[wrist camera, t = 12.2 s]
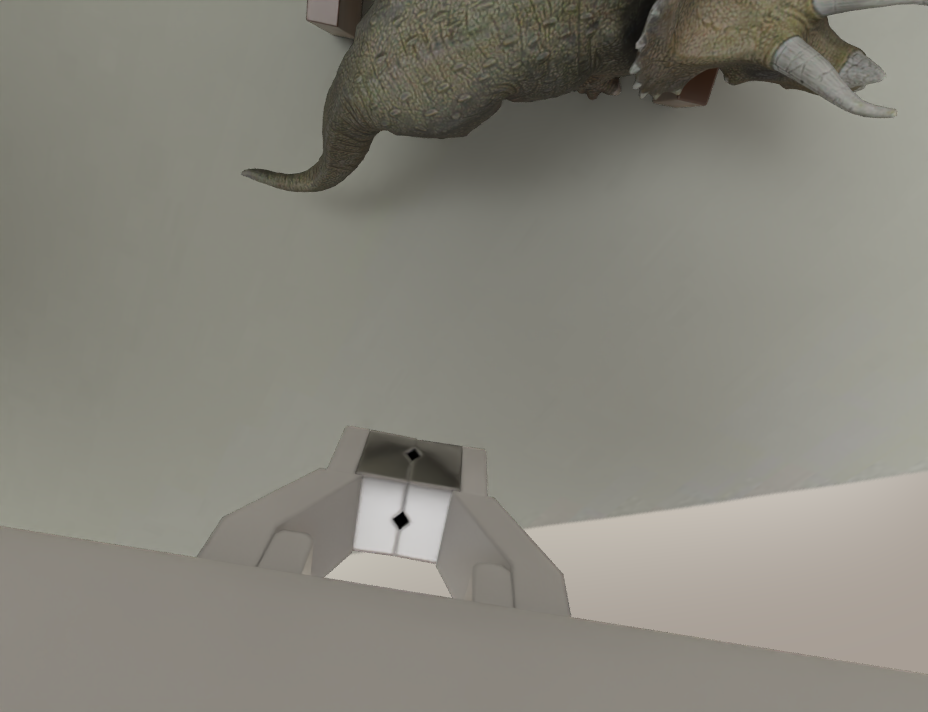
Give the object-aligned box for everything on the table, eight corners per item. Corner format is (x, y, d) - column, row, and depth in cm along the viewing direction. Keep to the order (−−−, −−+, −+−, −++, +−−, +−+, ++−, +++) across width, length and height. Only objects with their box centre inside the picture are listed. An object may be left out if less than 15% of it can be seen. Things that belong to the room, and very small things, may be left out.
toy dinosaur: (282, 191, 26) (143, 239, 15) (223, -15, 22) (-3, -131, 12) (757, 112, 23) (967, 105, 13) (771, -131, 20) (1064, -395, 10)
